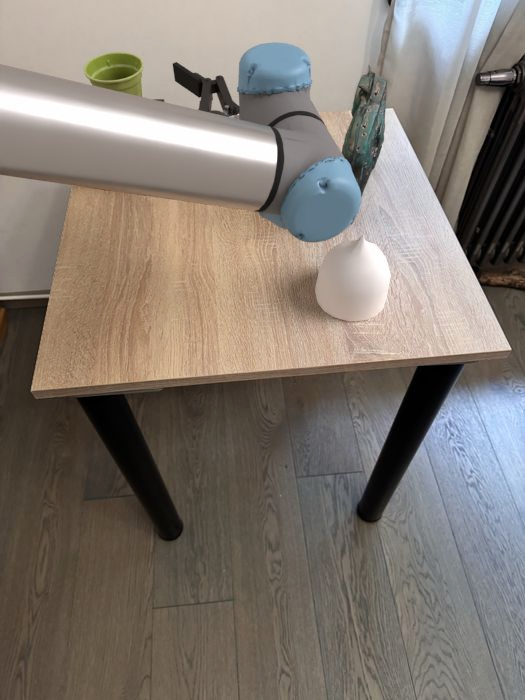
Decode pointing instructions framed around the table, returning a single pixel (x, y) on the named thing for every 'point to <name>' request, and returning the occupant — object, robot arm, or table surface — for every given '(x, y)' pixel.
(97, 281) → the table surface
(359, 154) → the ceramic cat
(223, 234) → the table surface
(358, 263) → the teardrop
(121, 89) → the plant pot
